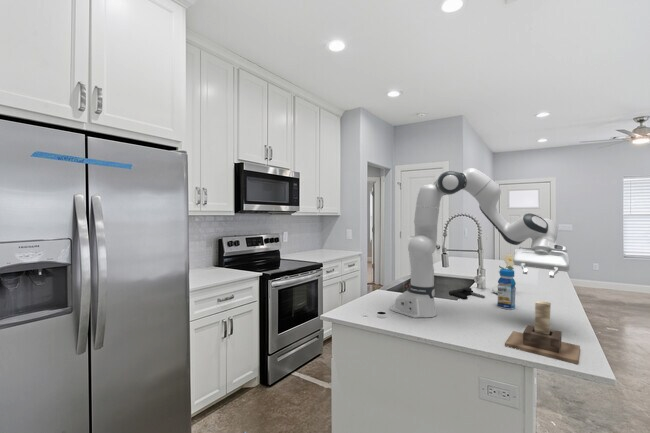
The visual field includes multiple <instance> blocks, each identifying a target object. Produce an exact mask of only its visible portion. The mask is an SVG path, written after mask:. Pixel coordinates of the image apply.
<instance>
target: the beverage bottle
mask: <svg viewBox="0 0 650 433" xmlns="http://www.w3.org/2000/svg"><path fill="white" fill-rule="evenodd" d="M499 271H500V273H499V276H501V277H499V279H498V280H497V283H498V284H499V285H498V284H497V285H498V294H497V302H496V303H497V307H498V308H500V309H503V310H509V311H510V310H514V309H516V291H517V287H516V281H515V279H514V277H515V269H513V270H510V269H508V268H506V269H505V268H504V269H501V268H499Z"/></svg>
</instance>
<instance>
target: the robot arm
mask: <svg viewBox="0 0 650 433" xmlns="http://www.w3.org/2000/svg"><path fill="white" fill-rule="evenodd" d="M461 190H463V191H465V192H467V193H468V194H470V195H471V196H472V197H473V198H474V199H475V200H476V201H477V203H478V204H479V206H478V207H479V210H480V211H481V213H482V214H483V215H484V217H486V219H487V220H488V221H489V222H490V223H491V225H492V226H494V228H495V229H496V230H497V232H499V234H500V236H501V237H502V238H503V240H504V241H505V242H506V243H508V244H510V245H514V246H519V245H520V244H522V243H523V242H525V241H526V240H528V239H531V245H530V247H518V248H515V249H514V254H513V256H514V257H513V263H514V265H513V266H516V267H517V266H518V267H521V270H522V275H528V268H534V269H543V270H549V271H550V272H549V278H551V279H555V276H556V275H557V274H558V273H559V272H563V273H564V272H569V271H570V257H569V256H570V255H569V254H568V249H567V247H566V246H564V245H561V244H558V243H556V241H557V238H558V226H557V223H556V222H555V221H554V220H552V219H551V218H546V217H541V216H539V215H537V214H534V213H525V214H523V215H522V216H520V217H518V218H517V219H516V220H514V221H513V222H508V220H506V219H505V218H504V216H502V214H501V213H500V212H499V211H498V210H497V204H498V202H499V200H500V197H501V192H502V190H501V187H500V185H499V184H498V183H497V182H496V181H495V180H493V179H492V178H491V177H490V176H488V175H487V174H485V173H484V172H483V171H480V170H479V169H477V168H475V167H470V168H469V167H468V168H467V169H465V170H463V172H459V171H454V170H448V171H445V172H443V173H441V174H440V175H439V176H438V177H437V179H436V180H435V181H434V183H433V184H432V183H431V184H430V183H428V184H424V185H422V186H420V188H419V191H418V194H417V197H416V204H415V212H414V220H413V223H414V237H411V239H410V240H409V242H408V246H407V250H408V258H409V265H410V282H409V283H408V284H407V285H405V288H406V290H405V291H403V292H402V293H401V294H399V295H398V296H397V297H396V299H395V301H394V304H393V305H391V306H390V311H392V312H395V313H398V314H401V315H404V316H407V317H411V318H414V319H415V318H433V317H436V316H437V314H438V313H437V310H436V305H435V295H436V292H435V291H436V289H435V284H434V283H435V267H434V262H433V260H434V258H433V253H434V252H435V251H436V249H437V244H438V243H437V241H438V223H439V213H440V206H441V200H442V198H443V196H450V195H451V196H452V195H454V194H456V193H458V192H460V191H461Z"/></svg>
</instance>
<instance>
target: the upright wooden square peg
mask: <svg viewBox="0 0 650 433" xmlns="http://www.w3.org/2000/svg"><path fill="white" fill-rule="evenodd" d="M534 304H535V305H534V326H535V332H536V333H540V334H545V335H550V329H551V302H549V301H548V302H547V301H541V300H536V301H535V303H534Z"/></svg>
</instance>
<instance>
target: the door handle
mask: <svg viewBox="0 0 650 433" xmlns="http://www.w3.org/2000/svg"><path fill="white" fill-rule="evenodd" d="M448 295H449V296H451V297H454V298H458V299H461V300H465V301H466V300H468V298H469V297H470V296H472V297H475V298H476V297H477V298H478V299H479V298H481V299H485V298H486V295H483V294H479V293H476V292H474V290H473V289H472V287H469V286H468V287H464V288H463V287H462V288H458V289H454V290H449V291H448Z"/></svg>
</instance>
